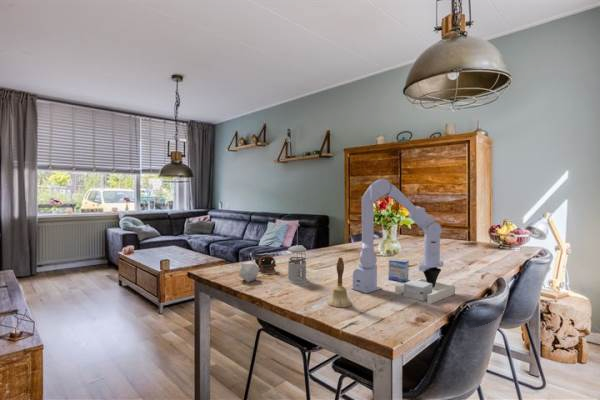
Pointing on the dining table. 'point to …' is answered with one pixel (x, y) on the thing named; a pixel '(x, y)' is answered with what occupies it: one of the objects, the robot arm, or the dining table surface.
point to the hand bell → (339, 289)
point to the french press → (297, 265)
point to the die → (248, 271)
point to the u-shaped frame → (443, 292)
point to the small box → (417, 289)
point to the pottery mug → (265, 263)
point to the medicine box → (398, 270)
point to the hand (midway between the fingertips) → (431, 286)
